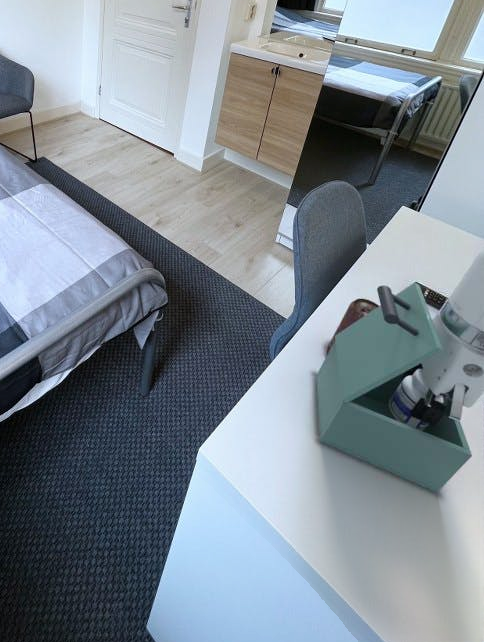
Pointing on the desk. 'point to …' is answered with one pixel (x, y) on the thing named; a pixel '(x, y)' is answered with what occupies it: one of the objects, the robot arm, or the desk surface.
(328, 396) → the teal lidded box
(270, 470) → the desk surface
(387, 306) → the lid
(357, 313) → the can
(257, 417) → the desk surface
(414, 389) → the pill bottle
